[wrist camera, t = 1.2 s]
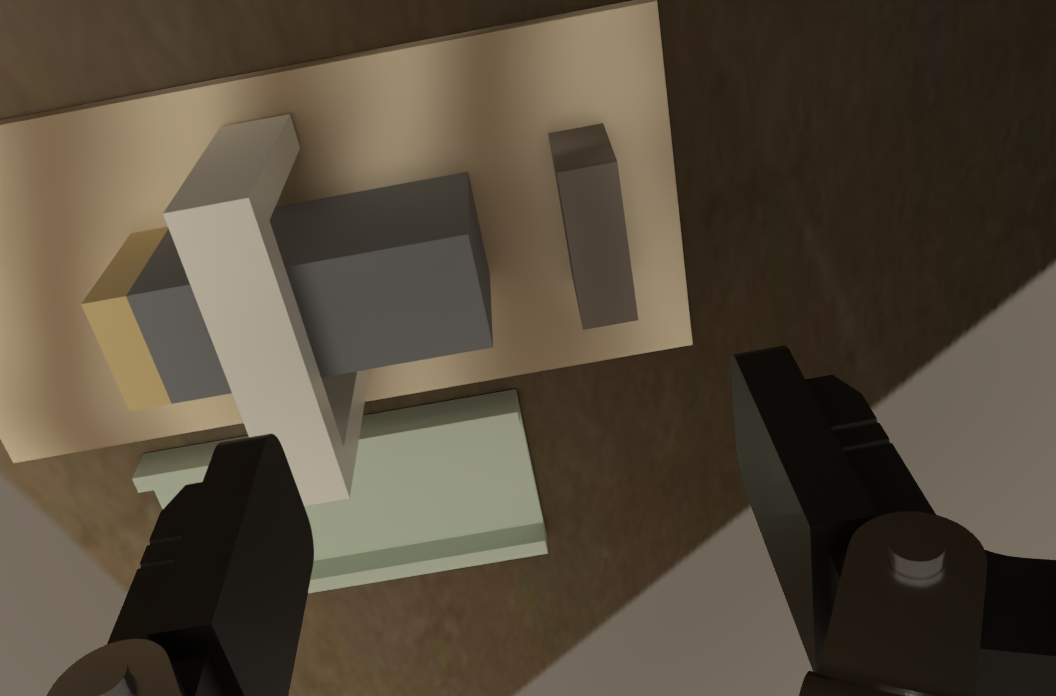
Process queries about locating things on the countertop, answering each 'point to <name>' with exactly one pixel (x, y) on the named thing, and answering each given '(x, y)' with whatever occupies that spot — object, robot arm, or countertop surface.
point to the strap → (263, 306)
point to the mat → (409, 493)
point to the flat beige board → (357, 165)
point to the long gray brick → (311, 291)
